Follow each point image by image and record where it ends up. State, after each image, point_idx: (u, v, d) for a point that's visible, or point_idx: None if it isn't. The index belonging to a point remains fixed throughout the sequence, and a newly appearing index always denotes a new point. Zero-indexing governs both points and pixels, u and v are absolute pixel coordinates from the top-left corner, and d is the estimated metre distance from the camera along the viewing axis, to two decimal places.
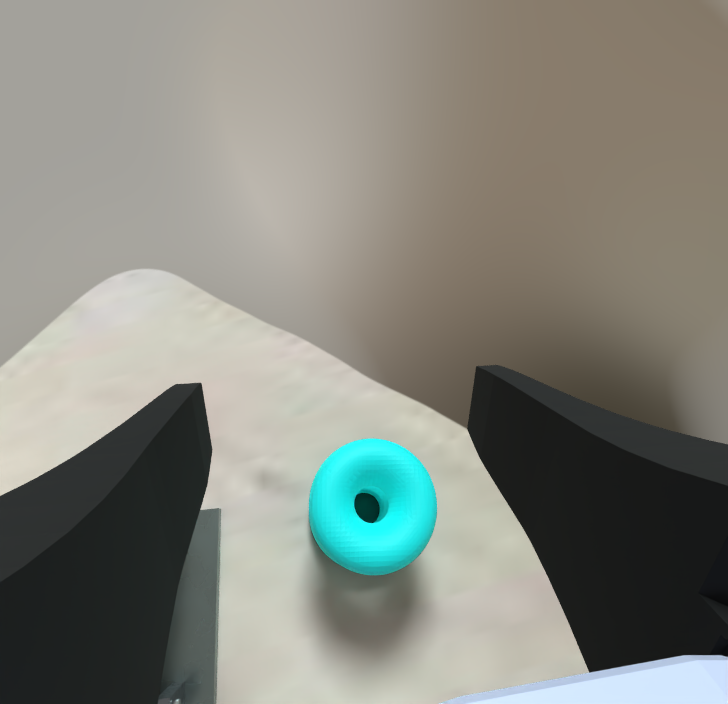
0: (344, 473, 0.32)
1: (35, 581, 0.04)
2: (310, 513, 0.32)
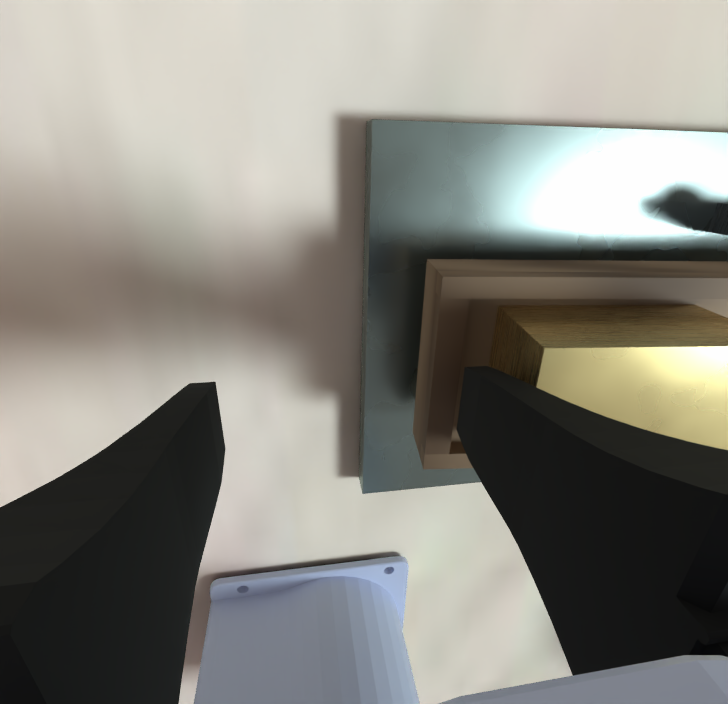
0: None
1: (73, 576, 0.04)
2: None
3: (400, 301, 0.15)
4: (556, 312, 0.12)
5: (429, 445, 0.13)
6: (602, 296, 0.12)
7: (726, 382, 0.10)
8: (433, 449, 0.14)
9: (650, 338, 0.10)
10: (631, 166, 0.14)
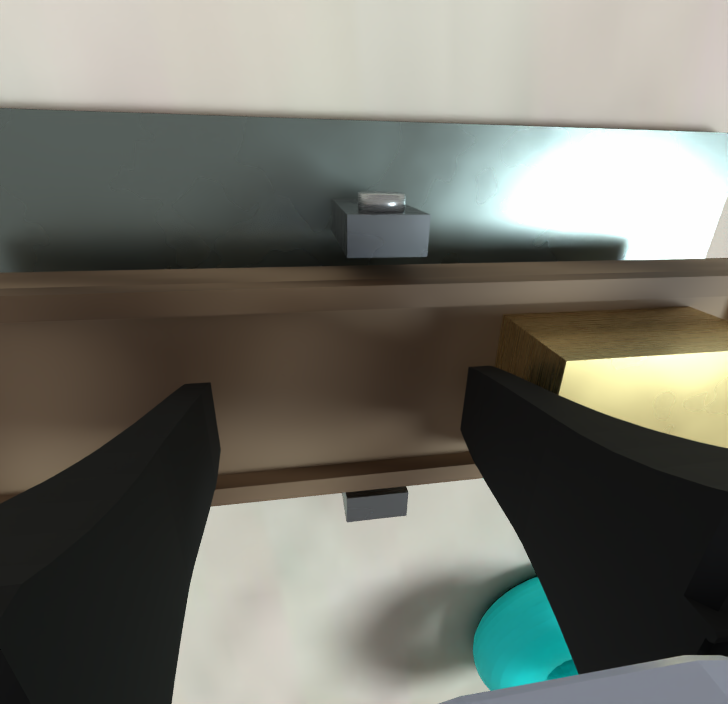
0: None
1: (60, 578, 0.04)
2: None
3: None
4: (563, 320, 0.11)
5: None
6: (58, 317, 0.09)
7: None
8: None
9: (662, 344, 0.10)
10: (200, 157, 0.12)
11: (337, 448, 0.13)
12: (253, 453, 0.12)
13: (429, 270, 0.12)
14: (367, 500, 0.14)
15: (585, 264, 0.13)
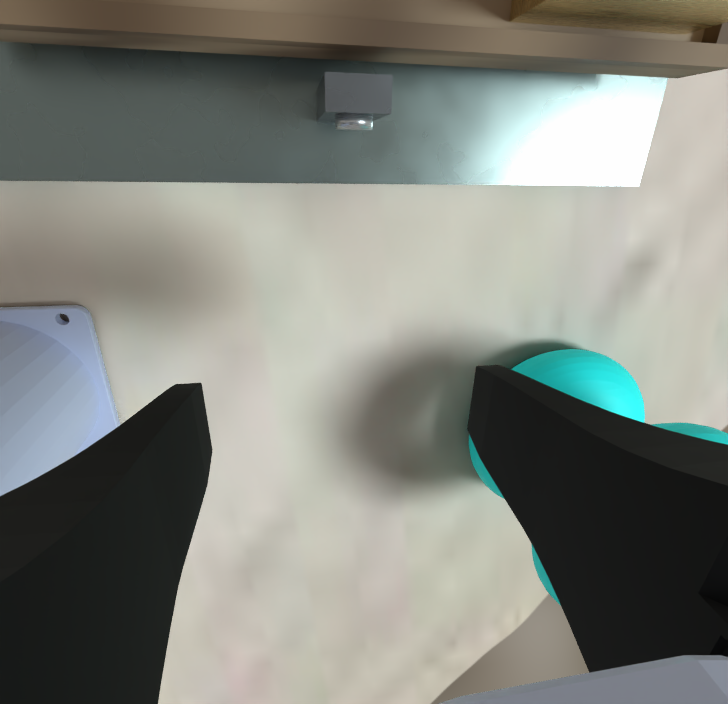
0: None
1: (35, 581, 0.04)
2: None
3: None
4: None
5: None
6: None
7: None
8: None
9: None
10: None
11: None
12: None
13: None
14: (347, 79, 0.12)
15: None
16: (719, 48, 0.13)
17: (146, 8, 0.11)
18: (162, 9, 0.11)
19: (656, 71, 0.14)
